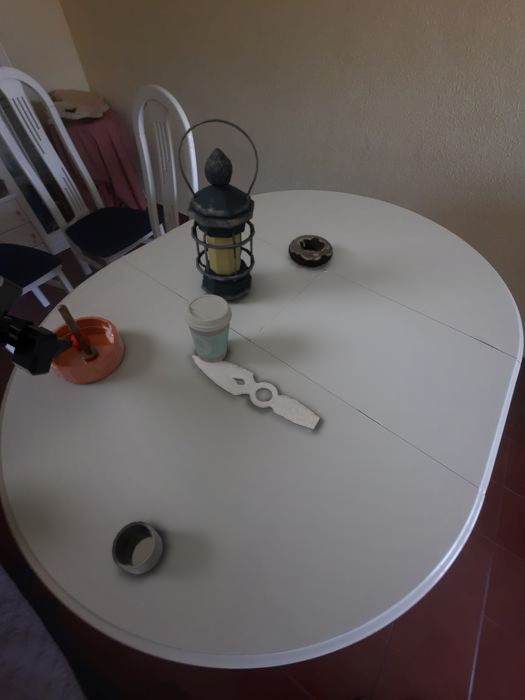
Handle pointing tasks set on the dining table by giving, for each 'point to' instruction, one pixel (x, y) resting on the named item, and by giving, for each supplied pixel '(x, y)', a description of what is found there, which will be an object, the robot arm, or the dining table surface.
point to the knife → (280, 404)
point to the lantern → (222, 224)
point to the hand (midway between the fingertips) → (52, 333)
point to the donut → (313, 258)
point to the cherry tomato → (77, 342)
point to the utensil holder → (137, 547)
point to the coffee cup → (209, 326)
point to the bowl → (99, 336)
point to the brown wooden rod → (78, 335)
